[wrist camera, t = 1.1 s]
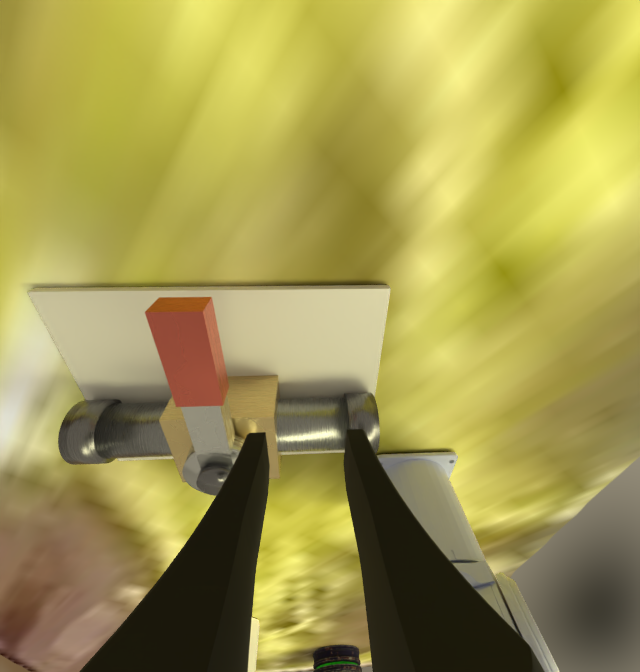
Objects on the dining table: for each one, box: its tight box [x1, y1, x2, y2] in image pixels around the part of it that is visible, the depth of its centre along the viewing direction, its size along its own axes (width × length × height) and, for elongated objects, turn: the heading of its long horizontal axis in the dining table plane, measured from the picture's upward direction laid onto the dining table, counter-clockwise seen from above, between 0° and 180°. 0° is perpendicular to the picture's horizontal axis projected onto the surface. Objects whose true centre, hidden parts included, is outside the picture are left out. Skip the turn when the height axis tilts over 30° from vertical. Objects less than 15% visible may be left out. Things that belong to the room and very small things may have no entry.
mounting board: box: [27, 285, 390, 461], centre depth 23 cm, size 16×22×1 cm
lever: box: [145, 297, 245, 496], centre depth 17 cm, size 14×4×2 cm, turn 179°
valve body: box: [58, 375, 380, 482], centre depth 22 cm, size 6×21×5 cm, turn 89°
